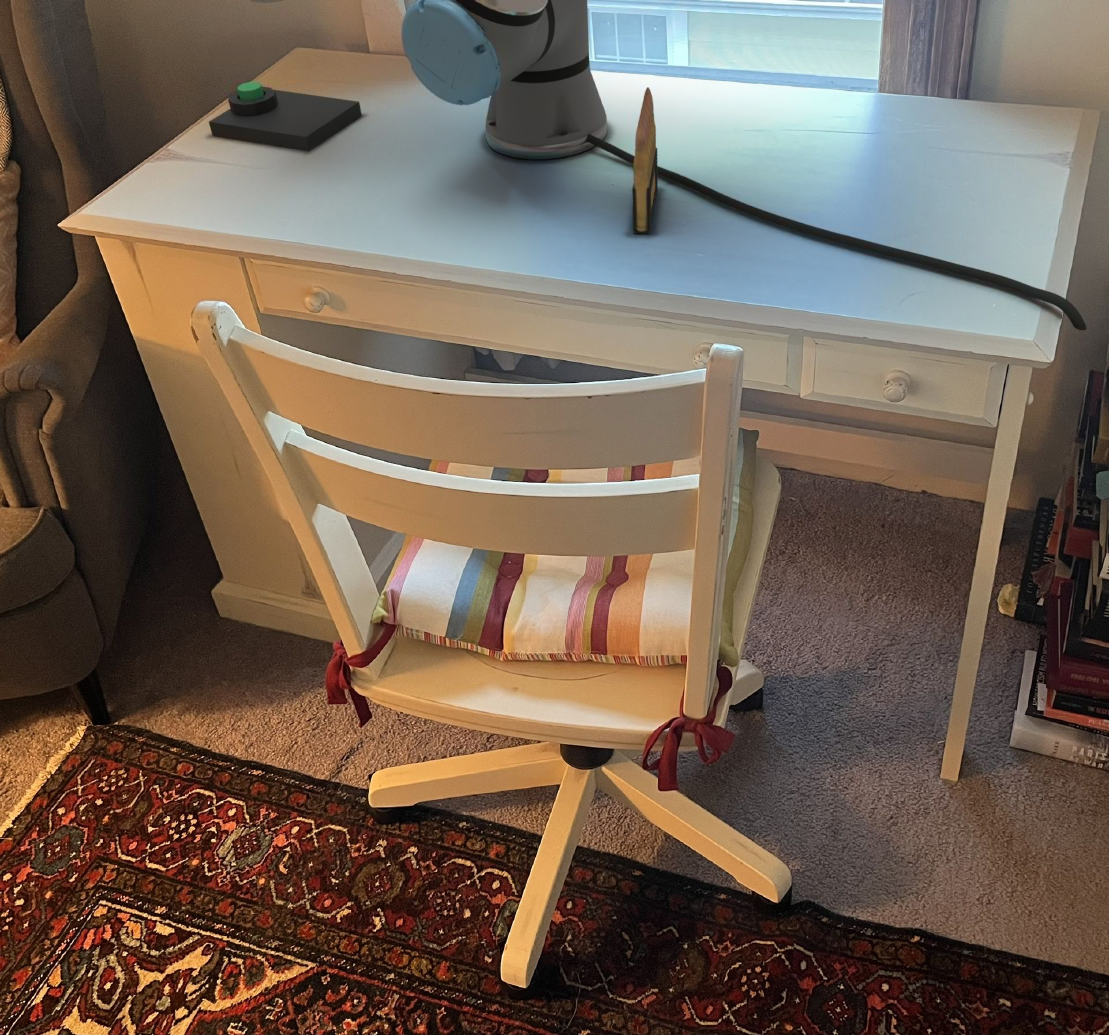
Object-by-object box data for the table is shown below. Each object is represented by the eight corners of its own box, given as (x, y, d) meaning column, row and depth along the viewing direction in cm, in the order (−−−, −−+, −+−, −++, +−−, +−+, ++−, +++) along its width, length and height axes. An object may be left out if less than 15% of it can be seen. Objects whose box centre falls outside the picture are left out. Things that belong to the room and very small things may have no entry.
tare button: (269, 94, 146) (266, 83, 145) (254, 103, 144) (251, 92, 143) (250, 92, 147) (247, 80, 146) (235, 100, 145) (232, 89, 144)
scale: (362, 115, 146) (357, 89, 144) (309, 151, 139) (303, 124, 136) (267, 101, 152) (261, 76, 150) (211, 135, 145) (204, 109, 142)
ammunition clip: (650, 234, 116) (649, 124, 108) (632, 234, 117) (630, 124, 109) (657, 189, 124) (657, 83, 116) (641, 189, 124) (639, 84, 116)
